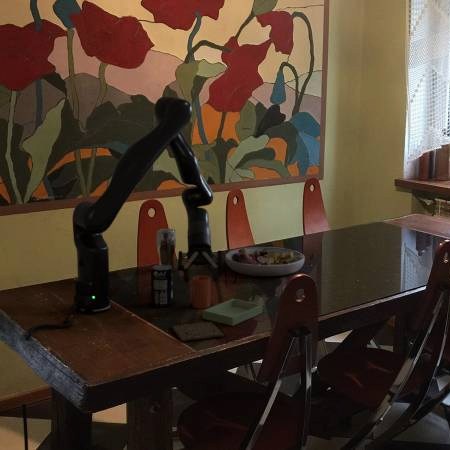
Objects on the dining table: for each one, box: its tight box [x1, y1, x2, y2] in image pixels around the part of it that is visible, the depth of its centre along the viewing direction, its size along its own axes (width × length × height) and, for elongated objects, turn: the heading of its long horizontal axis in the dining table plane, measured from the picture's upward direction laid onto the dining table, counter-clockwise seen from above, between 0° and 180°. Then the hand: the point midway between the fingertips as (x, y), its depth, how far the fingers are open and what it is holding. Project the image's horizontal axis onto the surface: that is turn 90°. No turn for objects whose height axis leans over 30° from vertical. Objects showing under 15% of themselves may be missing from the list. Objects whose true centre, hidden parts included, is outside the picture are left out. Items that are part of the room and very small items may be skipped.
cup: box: [191, 275, 211, 309], centre depth 226 cm, size 6×6×9 cm
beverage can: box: [150, 264, 174, 307], centre depth 226 cm, size 7×7×12 cm
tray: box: [202, 298, 263, 327], centre depth 218 cm, size 15×11×2 cm
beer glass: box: [156, 228, 177, 272], centre depth 267 cm, size 7×7×15 cm
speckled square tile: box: [171, 320, 225, 342], centre depth 203 cm, size 12×12×1 cm
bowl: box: [224, 246, 306, 278], centre depth 273 cm, size 30×30×8 cm
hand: (201, 280), depth 227 cm, fingers open, 8 cm apart
